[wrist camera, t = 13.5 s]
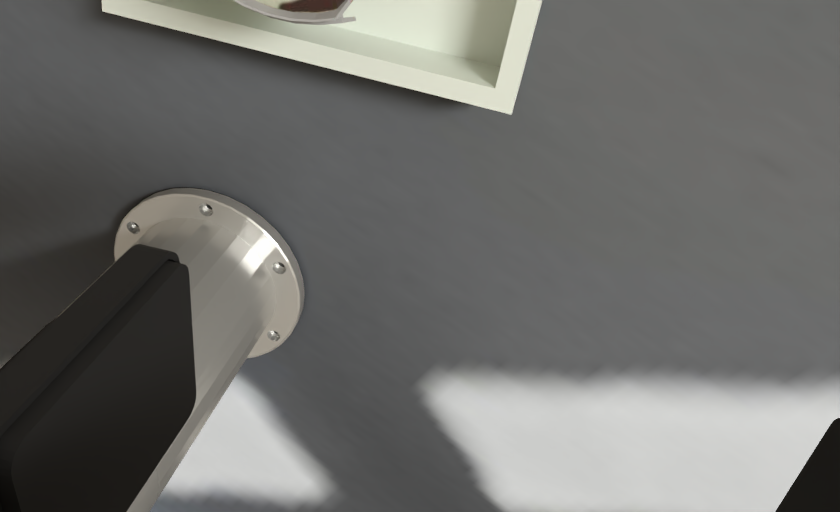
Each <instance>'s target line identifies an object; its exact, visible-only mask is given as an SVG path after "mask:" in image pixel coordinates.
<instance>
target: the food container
mask: <svg viewBox="0 0 840 512" xmlns="http://www.w3.org/2000/svg"><path fill="white" fill-rule="evenodd" d="M233 1H235V2H237V3H238V4H240V5H242V6H244V7H246V8H248V9H250V10H253V11H255V12H258V13H260V14H263V15H265V16H268V17H270V18H274V19H278V20H282V21H286V22H291V23H295V24H309V25H328V24H338V23H346V22H352V21H356V17H345V18H343V13H344V12H345V11H346V9H347V8H348V7H349V5H350V4H351V3H352V1H353V0H233Z"/></svg>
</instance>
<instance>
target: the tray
mask: <svg viewBox="0 0 840 512" xmlns="http://www.w3.org/2000/svg"><path fill="white" fill-rule="evenodd" d="M542 1H543V0H353V1H352V3H351V4H350V5H349V7H348V8H347V9H346V11H345V12H344V13H343V18H345V17H356V21H352V22H346V23H338V24H328V25H309V24H295V23H291V22H286V21H282V20H278V19H274V18H270V17H268V16H265V15H263V14H260V13H258V12H255V11H253V10H250V9H248V8H246V7H244V6H242V5H240V4H238V3H237V2H235V1H233V0H102V11H103V12H107V13H111V14H115V15H119V16H123V17H127V18H131V19H135V20H139V21H143V22H147V23H151V24H155V25H159V26H163V27H167V28H171V29H174V30H178V31H182V32H186V33H190V34H194V35H198V36H202V37H206V38H210V39H214V40H218V41H222V42H226V43H230V44H234V45H238V46H242V47H246V48H250V49H254V50H258V51H262V52H266V53H269V54H273V55H277V56H281V57H285V58H289V59H293V60H297V61H301V62H305V63H309V64H313V65H317V66H321V67H325V68H329V69H333V70H337V71H341V72H345V73H349V74H353V75H357V76H360V77H364V78H368V79H372V80H376V81H380V82H384V83H388V84H392V85H396V86H400V87H404V88H408V89H412V90H416V91H420V92H424V93H428V94H432V95H436V96H440V97H444V98H448V99H452V100H455V101H459V102H463V103H467V104H471V105H475V106H479V107H483V108H487V109H491V110H495V111H499V112H503V113H507V114H512V111H513V107H514V104H515V100H516V97H517V93H518V90H519V86H520V83H521V79H522V75H523V72H524V68H525V64H526V60H527V57H528V53H529V49H530V45H531V42H532V38H533V34H534V30H535V27H536V23H537V19H538V15H539V12H540V8H541V4H542Z"/></svg>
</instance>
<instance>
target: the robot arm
mask: <svg viewBox="0 0 840 512" xmlns="http://www.w3.org/2000/svg"><path fill="white" fill-rule="evenodd" d="M114 258H115V262H114V263H113V264H112V265H111V266H110V267H109V268H108V269H107V270H106V271H105V272H104V273H103V274H102V275H100V276H99V277H98V278H97V279H96V280H95V281H94V282H93V283H92V284H91V285H90V286H89V287H88V288H87V289H86V290H85V291H84V292H83V293H82V294H80V295H79V296H78V297H77V298H76V299H75V300H74V301H73V302H72V303H71V304H70V305H69V306H68V307H67V308H66V309H65V310H64V311H63V312H62V313H61V314H59V315H58V316H57V317H56V318H55V319H54V320H53V321H52V322H50V323H49V324H48V325H46V326H45V327H44V328H43V329H42V330H41V331H40V332H39V333H38V334H37V335H36V336H35V337H34V338H33V339H31V340H30V341H29V342H28V343H27V344H26V345H25V346H24V347H23V348H22V349H21V350H20V351H19V352H18V353H17V354H16V355H15V356H14V357H12V358H11V359H10V360H9V361H8V362H7V363H6V364H5V365H4V366H3V367H2V368H1V369H0V512H149V511H150V510H151V508H152V507H153V505H154V503H155V502H156V500H157V499H158V497H159V495H160V494H161V492H162V491H163V489H164V488H165V486H166V484H167V483H168V481H169V480H170V478H171V477H172V475H173V473H174V472H175V470H176V469H177V467H178V466H179V464H180V462H181V461H182V459H183V458H184V456H185V455H186V453H187V451H188V450H189V448H190V447H191V445H192V443H193V442H194V440H195V439H196V437H197V436H198V434H199V432H200V431H201V429H202V428H203V426H204V425H205V423H206V421H207V420H208V418H209V417H210V415H211V414H212V412H213V410H214V409H215V407H216V406H217V404H218V403H219V401H220V399H221V398H222V396H223V395H224V393H225V392H226V390H227V388H228V387H229V385H230V384H231V382H232V380H233V379H234V377H235V376H236V374H237V373H238V371H239V369H240V368H241V366H242V365H243V363H244V362H245V360H246V359H247V358H253V357H258V356H260V355H263V354H266V353H269V352H271V351H272V350H274V349H275V348H277V347H278V346H280V345H281V344H282V343H283V342H284V341H285V340H286V339H287V338H288V337H289V336H290V335H291V333H292V331H293V329H294V328H295V326H296V324H297V323H298V321H299V318H300V316H301V313H302V310H303V305H304V296H305V292H304V284H303V277H302V274H301V271H300V268H299V265H298V262H297V260H296V258H295V257H294V255H293V253H292V251H291V249H290V247H289V246H288V244H287V243H286V242H285V241H284V239H283V238H282V237H281V235H280V234H279V233H278V232H277V230H276V229H275V228H273V227H272V226H271V225H270V224H269V223H268V222H267V221H266V220H265V219H264V218H263V217H262V216H260V215H259V214H257V213H256V212H254V211H253V210H252V209H250V208H249V207H247V206H246V205H244V204H242V203H240V202H238V201H236V200H234V199H232V198H230V197H228V196H225V195H222V194H219V193H215V192H212V191H209V190H203V189H196V188H173V189H168V190H165V191H161V192H157V193H155V194H153V195H151V196H149V197H148V198H146V199H144V200H142V201H141V202H140V203H139V204H138V205H137V206H135V207H134V208H133V209H132V210H131V211H130V212H129V213H128V214H127V215H126V216H125V218H124V219H123V220H122V222H121V224H120V226H119V229H118V231H117V233H116V238H115V244H114ZM776 512H840V418H838V419H836V420H834V421H833V423H832V424H831V425H830V427H829V428H828V430H827V431H826V433H825V434H824V436H823V438H822V439H821V441H820V442H819V444H818V445H817V447H816V449H815V450H814V452H813V453H812V455H811V456H810V458H809V460H808V461H807V463H806V464H805V466H804V467H803V469H802V471H801V472H800V474H799V475H798V477H797V478H796V480H795V482H794V483H793V485H792V486H791V488H790V489H789V491H788V493H787V494H786V496H785V497H784V499H783V501H782V502H781V504H780V505H779V507H778V508H777V510H776Z"/></svg>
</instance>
